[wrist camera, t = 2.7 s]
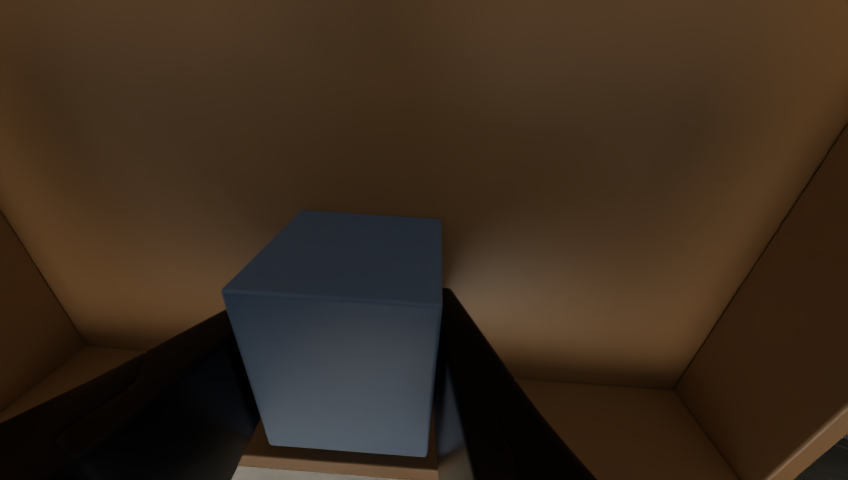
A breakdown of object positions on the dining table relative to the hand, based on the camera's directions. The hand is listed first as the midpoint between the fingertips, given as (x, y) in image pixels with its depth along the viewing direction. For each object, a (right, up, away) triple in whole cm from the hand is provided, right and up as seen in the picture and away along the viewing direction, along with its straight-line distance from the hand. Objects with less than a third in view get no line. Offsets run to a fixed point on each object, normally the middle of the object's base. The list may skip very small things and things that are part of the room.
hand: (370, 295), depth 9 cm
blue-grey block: (0, 0, 0) cm, 0 cm away
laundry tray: (+1, +15, -7) cm, 17 cm away
